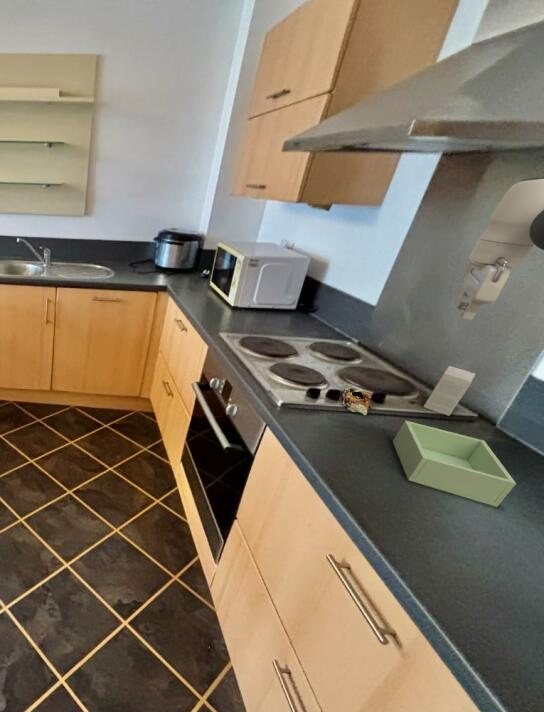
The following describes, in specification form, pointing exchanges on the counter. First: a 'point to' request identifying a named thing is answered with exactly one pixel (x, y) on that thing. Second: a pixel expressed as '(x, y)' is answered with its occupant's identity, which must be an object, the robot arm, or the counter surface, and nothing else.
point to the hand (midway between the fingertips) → (463, 313)
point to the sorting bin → (452, 463)
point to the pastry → (356, 400)
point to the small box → (449, 390)
